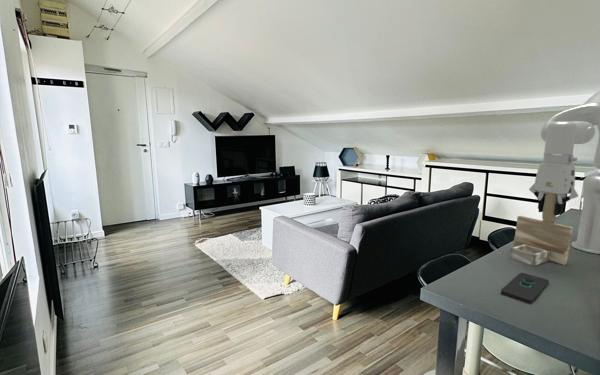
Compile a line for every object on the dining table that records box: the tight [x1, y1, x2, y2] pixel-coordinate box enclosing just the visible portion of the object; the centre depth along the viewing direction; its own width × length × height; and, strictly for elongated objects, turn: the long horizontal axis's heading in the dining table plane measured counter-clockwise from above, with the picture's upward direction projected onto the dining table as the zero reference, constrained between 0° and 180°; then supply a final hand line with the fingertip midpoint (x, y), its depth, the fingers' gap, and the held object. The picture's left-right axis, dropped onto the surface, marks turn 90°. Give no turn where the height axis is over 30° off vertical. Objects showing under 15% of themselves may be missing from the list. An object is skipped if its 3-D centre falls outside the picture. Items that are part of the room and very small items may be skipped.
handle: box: [541, 182, 558, 226], centre depth 113 cm, size 5×6×15 cm
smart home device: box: [500, 272, 550, 305], centre depth 103 cm, size 8×2×20 cm
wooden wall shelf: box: [509, 215, 574, 267], centre depth 126 cm, size 13×18×14 cm
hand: (549, 212), depth 113 cm, fingers closed on handle, 4 cm apart
